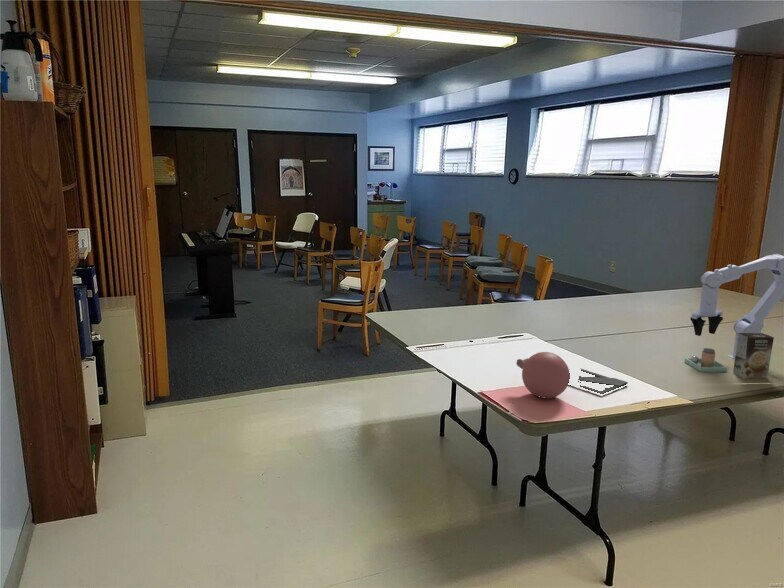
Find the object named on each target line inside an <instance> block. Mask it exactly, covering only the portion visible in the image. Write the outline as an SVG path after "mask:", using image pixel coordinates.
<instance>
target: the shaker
mask: <svg viewBox="0 0 784 588" xmlns="http://www.w3.org/2000/svg"><path fill="white" fill-rule="evenodd" d="M715 351H716V350H715V349H714V348H710V347H708V348H707V347H704V348H703V350H702V352H701V357H700V358H701V367H714V361H716V352H715Z"/></svg>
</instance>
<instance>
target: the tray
mask: <svg viewBox="0 0 784 588" xmlns="http://www.w3.org/2000/svg"><path fill="white" fill-rule="evenodd" d="M690 358H691V357H685V358H684V363H685V364H687V365H688V366H690V367H692V368H694V369H695V370H697V371H699V372H703V373H704V372H705V373H708V372H711V373H712V372H715V373H716V372H727V371H728V367H727V366H726V365H724V364H722V363H720V362H718V361H717V360H715V361H714V367H701V358H702V357H698V358H699V363H698V364H696V363H694V362H692V361H690Z"/></svg>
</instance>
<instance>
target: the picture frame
mask: <svg viewBox="0 0 784 588" xmlns="http://www.w3.org/2000/svg"><path fill="white" fill-rule="evenodd" d="M580 369H581V371H583V372H586V373H589V374H592V375H595V377H581V376H579V379H578V380H580V381H586V382H592V383H599V384H606V385H614V386H613V387H610V388H605V390H603V391H598V390H595V389H592V388H589V387H586V386H581V385H580V387H583V388H585V389H588V390H591V391H594V392H597V393H600V394H604V393H606V392H609V391H611V390H614V389H616V388H619V387H621V386H624V385H626V384H628V383H629V382H628V381H625V380H622V379H619V378H615V377H609V376H606V375H602V374H599V373H596V372H593V371H589V370H587V369H583V368H580ZM578 382H579V381H578ZM580 383H581V382H580Z"/></svg>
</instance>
